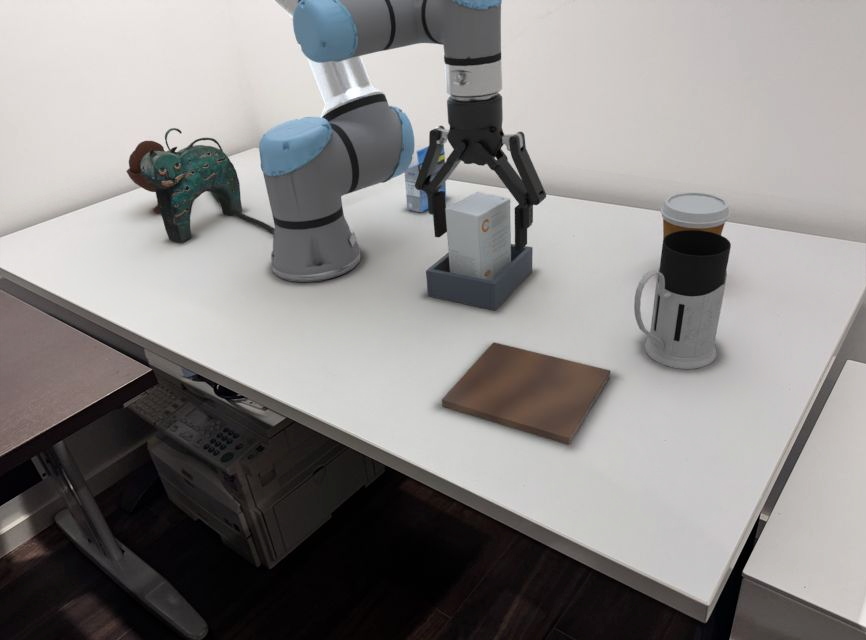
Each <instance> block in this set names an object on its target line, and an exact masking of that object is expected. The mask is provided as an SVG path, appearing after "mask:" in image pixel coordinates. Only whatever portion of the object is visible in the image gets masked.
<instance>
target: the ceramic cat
mask: <svg viewBox="0 0 866 640" xmlns="http://www.w3.org/2000/svg"><path fill="white" fill-rule="evenodd" d="M172 131H176V132H178V133H179V134H182V133H183V132H182V130H181V129H180V128H176V127H172V128H171V127H170V128H169V129H168V130H167V131H165V133H164V140H165V145H166V147H167V149H168V150H164V151H153V150H152V149H151V151H150V152H148V153H147V154H146V155H145V156H144V157H143V158H142V160H141V164H140V166H141V173H142V176H143V178H144V180H145V181H146V182H147V183H148V184H150V185H151V186H153V187H154V188H155V190H156V192H155V196H156V201H157V202H156V203H157V205H158V207H159V211H160V213H161V214H160V215H161V219H162V222H163V224H164V229H165V232H166V235H167V238H168V240H169V241H171V242H173V243H179V244H183V243H185V242H187V241H188V240H190V239H192V238H193V236H192V228H191V215H192V210H193V209H192V208H193V205H194V202H195V200H196V199H198V197H200V196H201V195H202V194H204V193H205V192H210V193H211V192H213V193H214V194H215V195H216V196H217V198H218V201H219V203H220V204H219V203H218V204H219V205H220V208H221V212H222V214H223V215H227V216H230V217H231V216H235V215H234V214H233V213H232V211H233V210H236V211H238V212H240V213H242V211H243V205H242V199H241V197H242V196H241V184H240V180H239V177H238V176H239V175H238V173H237V170H236V168H235V166H234V164H233V163H232V162H231V160H230V157H229V156H228V155H227V153H225V152H224V150H223V148H222V146H221V145H220V142H218V140H217V139H215V138H213V137H200V138H197V139H194V140H193V141H192V142H191V143H190V144H189V145H187V146H186V147H183V148H182V149H180V150H177V149H178V146H174V147H172V148H170V146H169V143H168V135H169V134H170V133H171V132H172ZM200 141H212V142H213V143H215V144H216V145H217V146H218V147H215V146H211V145H203V144H196V143H198V142H200ZM218 201H217V202H218Z"/></svg>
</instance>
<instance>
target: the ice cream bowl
mask: <svg viewBox="0 0 866 640" xmlns="http://www.w3.org/2000/svg"><path fill="white" fill-rule="evenodd" d="M151 149H152V150H153V151H165V148H164V146H163V145H162V144H160V143H159V142H156V141H154V140H144V141H141V142H139V143H138V144H137V146H136V147H135V149H134V150H133V151H132V152H131V154H130V156H129V158H128V167H129V168H127V170H126V173H127V175H128V177H129V178H130V180H131V181H132V182H133V183H134V184H135V185H137V186H138V187H140V188H142V189H143V190H145V191H148V192H151V193H156V190H155V188H154V187H153V186H151V185H150V184H148V183H147V182H146V181H145V180H144V178H143V176H142V173H141V166H140V164H141V160H142V158H143V157H144V156H145V155H146V154H147V153H148V152H150V151H151ZM153 213H155V214H157V215H161V213H160V211H159V207H158V204H157V205H156V206H155V207H154V208H153Z"/></svg>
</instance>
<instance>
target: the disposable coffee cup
mask: <svg viewBox="0 0 866 640" xmlns="http://www.w3.org/2000/svg"><path fill="white" fill-rule="evenodd" d="M660 214H661V217H662V228H663V229H662V230H663V231H662V232H663V233H662V234H663V235H662V236H663V238H662V240H663V239H664V237H665V236H667V235H668V234H670V233H673V232H677V231H682V230H701V231H708V232H712V233H716V234H719V235H721V236H722V233H723V230H724V227H725V224H726V223H727V221H728V219H729V218H730V216H731V210H730V209H729V202H728V201H727V200H726V199H725V198H724V197H721V196H719V195H716V194H712V193H707V192H699V191H698V192H696V191H688V192H687V191H686V192H679V193H675V194H671V195H669V196H667V197H666V199H665V200H664V203H663V205H662V206H661V207H660Z"/></svg>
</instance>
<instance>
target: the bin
mask: <svg viewBox="0 0 866 640" xmlns="http://www.w3.org/2000/svg"><path fill="white" fill-rule="evenodd" d="M533 249H534V248H533V247H532V246H527V245H526V246H524V247H523V248H522V249H521V250H520V251H517V250H515V243H511V263H510V264H509V265H508V266H507V267H506V268H505V269H504V270H503V271H502V272H501V273H500V274H499V275H498V276H497V277H496V278H495V279H494V280H493V281H490V280H485V279H480V278H475V277H470V276H465V275H460V274H454V273H450V265H449V251H448V252H447V253H446V254H444V255H443V256H442V257H440V259H438V260H437V261H436V262H435V263H433V264H432V265H431V266H429V267H428V268H426V270H425V276H426V287H427V297H431V298H434V299H440V300H445V301H450V302H453V303H459V304H464V305H467V306H471V307H472V306H473V307H476V308H481V309H486V310H491V311H496V310H498V309H499V308H500V306H502V305H503V303H504V302H505V301H506V300H508V298H510V296H511V295H512V294H513V293H514V292H515V291H516V290H517V289H518V288H519V287H520V286H521V285H522V284H523V283H524V281H526V279H527V278H528V277H529V276H530V275H531V274H532V273H533V254H534V253H533V252H534V251H533Z"/></svg>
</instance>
